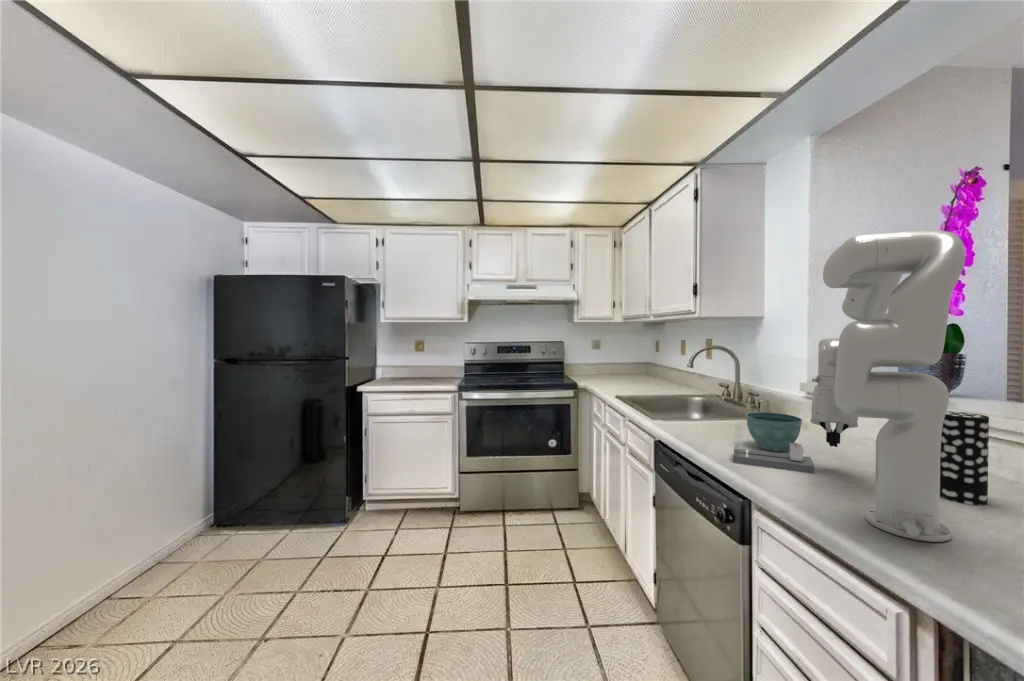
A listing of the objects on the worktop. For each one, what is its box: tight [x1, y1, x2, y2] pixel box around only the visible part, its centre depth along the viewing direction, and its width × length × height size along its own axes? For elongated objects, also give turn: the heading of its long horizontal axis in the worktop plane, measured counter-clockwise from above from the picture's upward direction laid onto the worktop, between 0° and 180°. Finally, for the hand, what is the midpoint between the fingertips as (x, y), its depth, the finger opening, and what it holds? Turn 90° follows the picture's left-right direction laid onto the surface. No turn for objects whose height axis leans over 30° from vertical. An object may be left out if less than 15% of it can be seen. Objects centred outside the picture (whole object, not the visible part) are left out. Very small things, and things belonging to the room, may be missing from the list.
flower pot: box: [745, 411, 803, 453], centre depth 141 cm, size 16×16×11 cm
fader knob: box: [788, 442, 804, 462], centre depth 123 cm, size 5×3×4 cm, turn 150°
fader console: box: [733, 442, 815, 474], centre depth 126 cm, size 10×20×4 cm, turn 60°
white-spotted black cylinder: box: [940, 410, 990, 506], centre depth 99 cm, size 8×8×20 cm
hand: (833, 445), depth 119 cm, fingers closed
